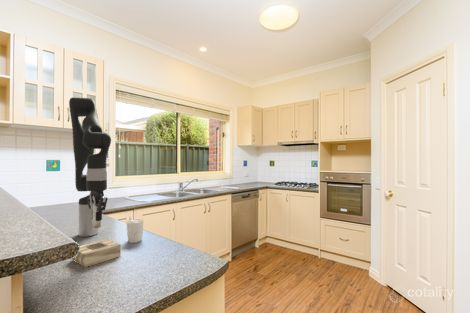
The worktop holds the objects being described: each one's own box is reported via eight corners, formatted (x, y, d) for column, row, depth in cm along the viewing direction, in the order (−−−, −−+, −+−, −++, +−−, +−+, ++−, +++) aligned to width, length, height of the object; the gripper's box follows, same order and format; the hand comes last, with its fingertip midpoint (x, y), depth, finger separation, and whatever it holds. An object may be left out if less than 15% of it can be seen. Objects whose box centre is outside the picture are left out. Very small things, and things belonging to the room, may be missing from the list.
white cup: (127, 239, 126) (127, 220, 127) (143, 237, 129) (143, 218, 129) (126, 244, 119) (126, 223, 119) (143, 242, 122) (143, 222, 122)
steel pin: (91, 227, 102) (91, 203, 102) (98, 225, 104) (98, 202, 105) (94, 228, 100) (94, 204, 100) (102, 227, 103) (102, 203, 103)
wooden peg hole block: (72, 260, 100) (72, 247, 100) (106, 249, 111) (106, 238, 111) (85, 267, 93) (85, 254, 93) (120, 255, 104) (120, 243, 104)
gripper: (79, 179, 104) (79, 219, 103) (95, 180, 96) (95, 224, 95) (98, 177, 110) (98, 216, 110) (114, 179, 102) (114, 220, 101)
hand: (96, 219), depth 102 cm, fingers closed on steel pin, 3 cm apart
